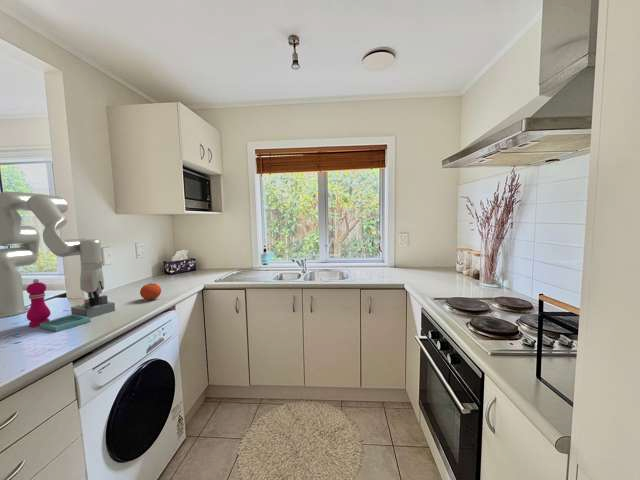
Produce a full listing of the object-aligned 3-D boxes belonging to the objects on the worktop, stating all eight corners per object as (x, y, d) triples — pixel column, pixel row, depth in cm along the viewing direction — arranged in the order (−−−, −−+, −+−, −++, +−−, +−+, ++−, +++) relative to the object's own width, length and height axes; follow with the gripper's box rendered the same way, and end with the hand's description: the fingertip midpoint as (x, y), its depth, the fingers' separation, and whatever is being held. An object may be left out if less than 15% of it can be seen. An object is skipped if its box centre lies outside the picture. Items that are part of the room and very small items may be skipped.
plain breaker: (99, 303, 136) (98, 296, 135) (104, 302, 138) (103, 295, 138) (102, 304, 135) (101, 297, 134) (107, 302, 137) (107, 295, 137)
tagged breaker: (84, 307, 130) (84, 299, 130) (90, 305, 132) (90, 298, 132) (88, 308, 129) (87, 300, 129) (94, 306, 131) (93, 299, 131)
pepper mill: (49, 320, 125) (46, 276, 124) (52, 324, 120) (48, 278, 119) (26, 325, 120) (22, 279, 118) (28, 329, 115) (24, 281, 113)
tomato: (151, 302, 151) (150, 284, 150) (135, 301, 153) (134, 283, 152) (165, 297, 161) (165, 280, 160) (150, 296, 163) (149, 279, 162)
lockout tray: (40, 328, 116) (39, 323, 116) (74, 318, 127) (73, 314, 127) (56, 332, 112) (56, 327, 112) (90, 322, 123) (90, 317, 123)
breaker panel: (71, 315, 131) (71, 306, 131) (99, 307, 143) (99, 299, 142) (87, 318, 127) (86, 309, 127) (114, 310, 138) (114, 302, 138)
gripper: (72, 266, 127) (75, 306, 128) (92, 268, 121) (95, 309, 123) (91, 264, 134) (93, 301, 135) (110, 266, 128) (113, 304, 130)
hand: (94, 305), depth 129 cm, fingers closed
